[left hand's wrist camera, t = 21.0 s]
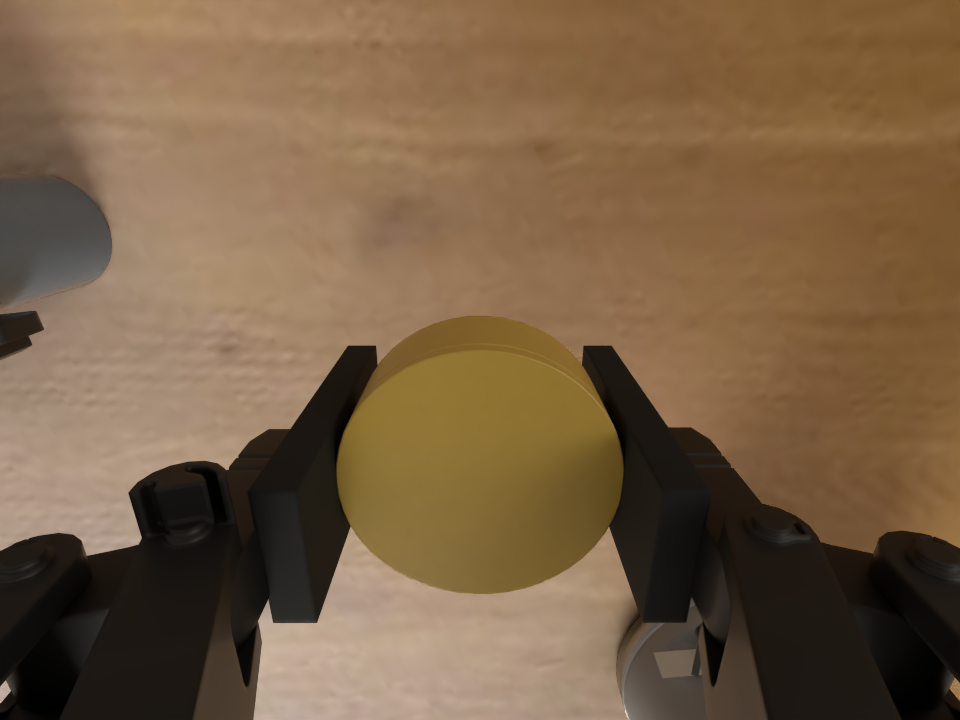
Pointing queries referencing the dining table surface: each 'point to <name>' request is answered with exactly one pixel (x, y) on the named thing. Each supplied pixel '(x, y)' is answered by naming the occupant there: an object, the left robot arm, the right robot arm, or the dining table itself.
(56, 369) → the dining table surface
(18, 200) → the grey tall cylinder
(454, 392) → the lid
